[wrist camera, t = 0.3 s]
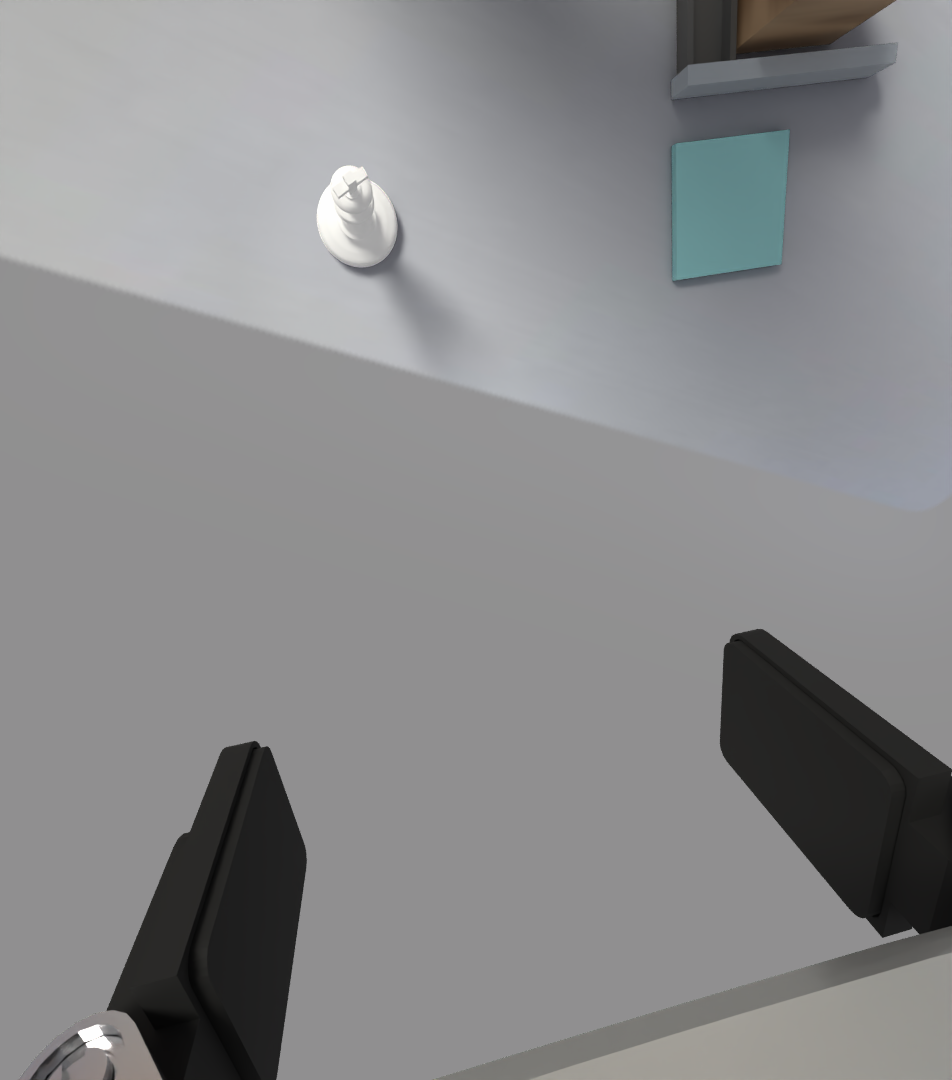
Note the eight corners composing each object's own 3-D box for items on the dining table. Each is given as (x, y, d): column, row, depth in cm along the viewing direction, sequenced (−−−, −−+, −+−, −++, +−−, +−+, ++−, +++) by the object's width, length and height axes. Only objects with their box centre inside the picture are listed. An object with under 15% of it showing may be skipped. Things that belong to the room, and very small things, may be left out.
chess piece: (412, 238, 34) (425, 200, 25) (350, 283, 34) (339, 261, 25) (366, 160, 32) (360, 86, 23) (299, 207, 32) (268, 153, 23)
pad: (671, 146, 35) (676, 143, 34) (783, 132, 35) (789, 129, 35) (672, 280, 38) (676, 279, 37) (775, 265, 38) (781, 264, 38)
